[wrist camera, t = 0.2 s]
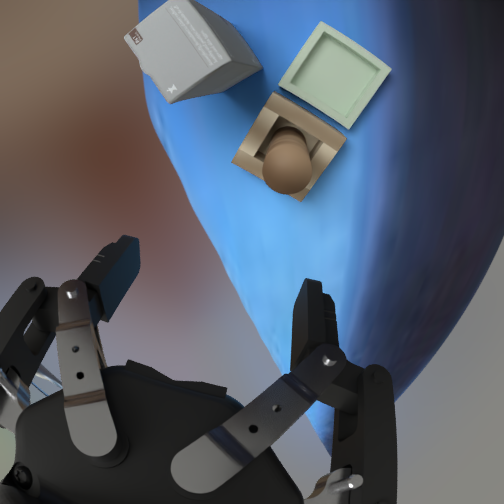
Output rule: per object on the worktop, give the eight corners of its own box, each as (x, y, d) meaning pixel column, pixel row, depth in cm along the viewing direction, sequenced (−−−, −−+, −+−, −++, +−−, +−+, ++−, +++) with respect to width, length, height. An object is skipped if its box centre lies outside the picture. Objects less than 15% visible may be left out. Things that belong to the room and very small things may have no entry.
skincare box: (264, 68, 30) (245, 60, 17) (216, 96, 33) (168, 111, 20) (229, 18, 26) (187, -16, 13) (183, 48, 29) (117, 38, 16)
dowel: (282, 119, 33) (278, 138, 23) (312, 138, 34) (321, 165, 24) (264, 148, 36) (253, 178, 26) (294, 165, 36) (294, 203, 27)
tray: (318, 24, 25) (320, 21, 24) (385, 69, 27) (391, 69, 25) (278, 84, 31) (277, 84, 29) (345, 126, 33) (348, 129, 31)
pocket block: (274, 90, 31) (272, 92, 28) (341, 132, 33) (346, 138, 30) (236, 153, 37) (231, 162, 34) (300, 190, 39) (300, 202, 36)
